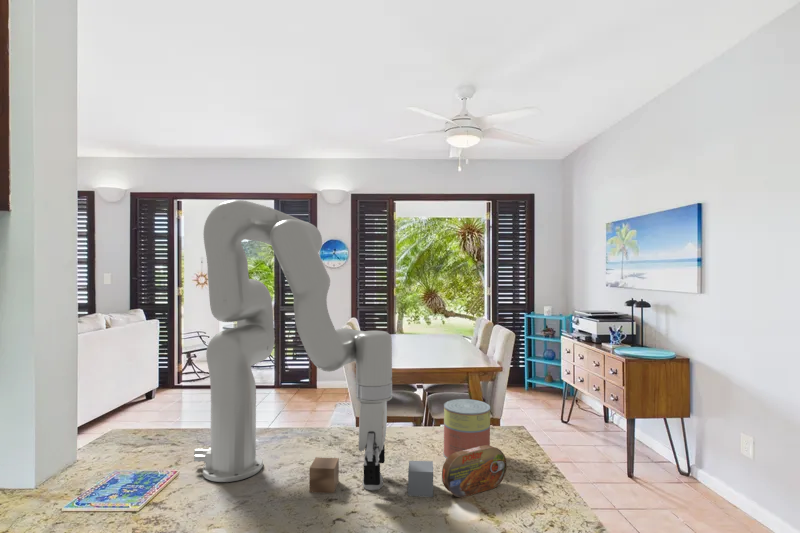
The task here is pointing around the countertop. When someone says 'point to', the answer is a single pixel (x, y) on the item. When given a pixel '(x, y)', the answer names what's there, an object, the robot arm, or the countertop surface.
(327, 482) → the walnut block
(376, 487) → the rook chess piece
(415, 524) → the countertop surface
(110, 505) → the countertop surface
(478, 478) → the tin
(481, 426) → the canned food
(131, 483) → the countertop surface
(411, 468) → the medium-grey block
